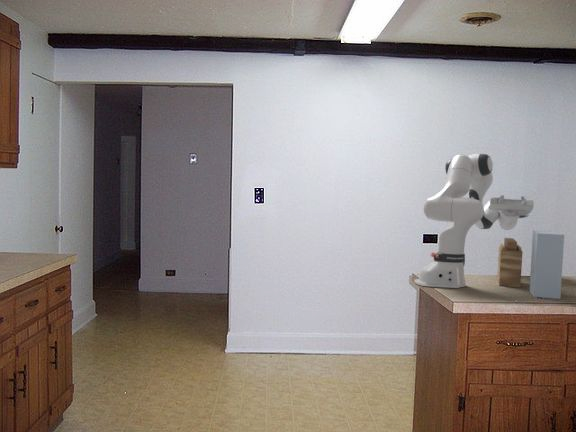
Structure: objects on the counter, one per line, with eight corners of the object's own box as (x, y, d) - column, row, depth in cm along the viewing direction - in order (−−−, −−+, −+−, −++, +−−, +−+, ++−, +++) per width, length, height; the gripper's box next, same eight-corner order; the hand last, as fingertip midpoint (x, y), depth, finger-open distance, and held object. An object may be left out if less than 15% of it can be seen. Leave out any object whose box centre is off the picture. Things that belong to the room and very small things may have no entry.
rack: (520, 287, 267) (522, 248, 266) (499, 285, 270) (501, 246, 269) (517, 281, 283) (519, 244, 282) (497, 280, 285) (499, 243, 284)
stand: (560, 299, 242) (564, 234, 240) (533, 296, 245) (537, 233, 243) (554, 292, 257) (558, 231, 256) (529, 290, 260) (533, 230, 259)
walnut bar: (516, 251, 267) (517, 242, 267) (507, 250, 268) (507, 241, 268) (512, 246, 286) (513, 238, 286) (504, 246, 287) (504, 237, 287)
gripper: (488, 204, 307) (490, 190, 295) (531, 206, 301) (534, 192, 289) (488, 215, 304) (489, 201, 292) (531, 217, 298) (534, 203, 286)
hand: (512, 197), depth 291 cm, fingers open, 8 cm apart
